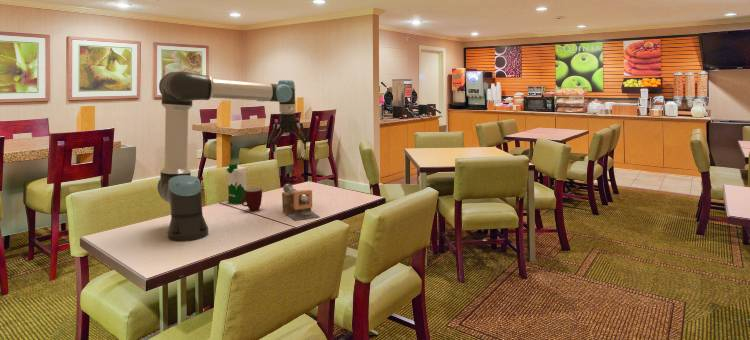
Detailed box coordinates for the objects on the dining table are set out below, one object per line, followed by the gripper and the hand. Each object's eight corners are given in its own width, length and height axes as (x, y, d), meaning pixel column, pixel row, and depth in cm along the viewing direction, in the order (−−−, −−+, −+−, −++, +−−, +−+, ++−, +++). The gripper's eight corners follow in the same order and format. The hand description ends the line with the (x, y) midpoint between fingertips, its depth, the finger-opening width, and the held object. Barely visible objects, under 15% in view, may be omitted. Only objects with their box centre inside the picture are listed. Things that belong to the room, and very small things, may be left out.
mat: (294, 220, 209) (294, 220, 209) (286, 215, 219) (286, 214, 219) (319, 217, 215) (319, 216, 215) (311, 211, 224) (311, 210, 224)
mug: (247, 214, 220) (246, 193, 219) (237, 211, 226) (236, 190, 224) (266, 209, 228) (265, 189, 226) (256, 206, 233) (255, 187, 232)
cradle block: (286, 215, 219) (286, 195, 217) (282, 212, 224) (282, 192, 222) (311, 211, 224) (310, 192, 223) (306, 208, 229) (306, 189, 228)
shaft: (311, 203, 213) (310, 193, 212) (301, 204, 211) (300, 194, 210) (292, 192, 235) (291, 183, 234) (283, 193, 233) (282, 184, 232)
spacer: (295, 209, 213) (295, 192, 211) (293, 208, 215) (293, 191, 213) (312, 207, 216) (312, 190, 215) (310, 206, 218) (310, 189, 217)
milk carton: (225, 202, 242) (223, 164, 238) (239, 199, 249) (237, 161, 246) (237, 205, 237) (235, 165, 234) (251, 201, 245) (249, 163, 241)
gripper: (263, 114, 215) (265, 160, 219) (315, 112, 226) (316, 156, 230) (259, 113, 221) (261, 158, 225) (309, 112, 233) (311, 154, 237)
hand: (289, 157), depth 228 cm, fingers open, 13 cm apart
